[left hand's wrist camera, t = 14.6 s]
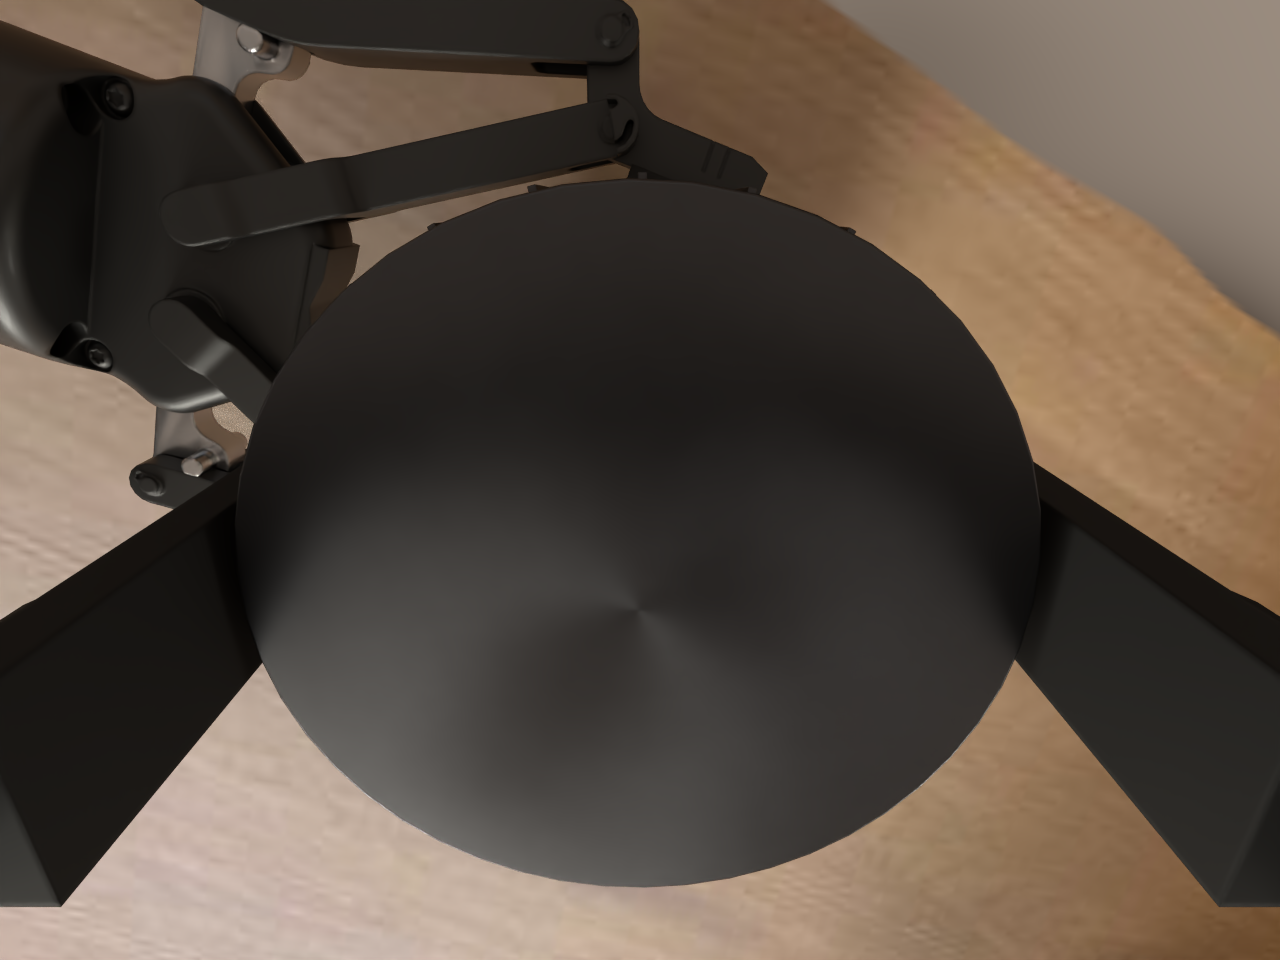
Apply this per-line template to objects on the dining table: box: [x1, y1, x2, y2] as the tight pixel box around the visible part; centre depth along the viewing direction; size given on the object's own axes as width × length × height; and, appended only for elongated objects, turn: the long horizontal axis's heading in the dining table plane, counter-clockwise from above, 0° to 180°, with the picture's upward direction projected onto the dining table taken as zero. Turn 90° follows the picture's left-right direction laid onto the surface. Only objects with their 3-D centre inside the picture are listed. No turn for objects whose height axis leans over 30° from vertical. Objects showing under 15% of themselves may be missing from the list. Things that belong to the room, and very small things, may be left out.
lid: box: [235, 172, 1041, 887], centre depth 11 cm, size 12×12×2 cm
